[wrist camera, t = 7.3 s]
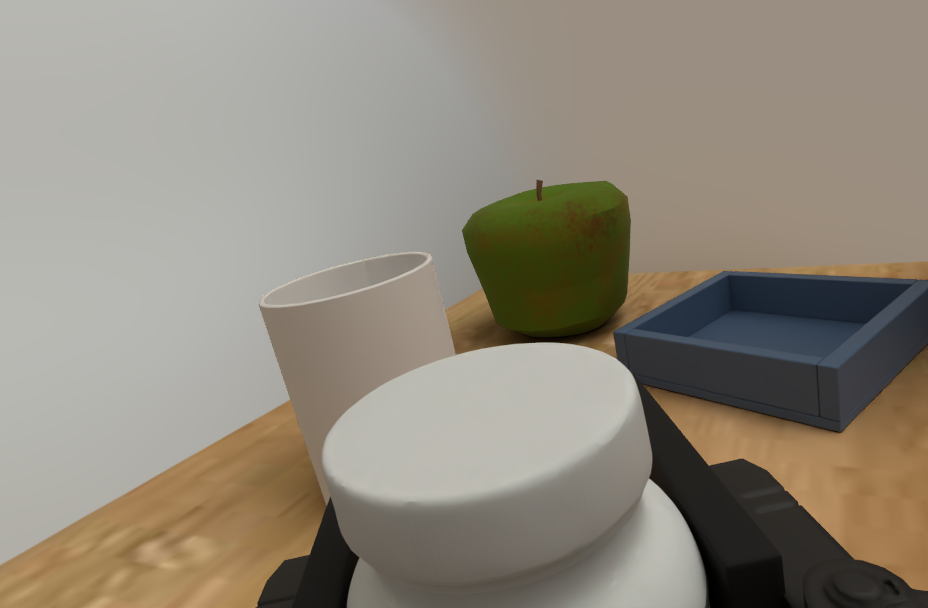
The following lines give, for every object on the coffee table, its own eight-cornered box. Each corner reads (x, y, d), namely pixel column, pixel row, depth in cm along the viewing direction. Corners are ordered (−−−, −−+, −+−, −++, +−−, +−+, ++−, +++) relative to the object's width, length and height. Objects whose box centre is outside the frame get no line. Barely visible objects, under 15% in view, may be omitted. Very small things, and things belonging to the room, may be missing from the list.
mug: (481, 514, 24) (422, 278, 21) (305, 544, 25) (226, 320, 22) (483, 392, 36) (445, 229, 33) (363, 415, 37) (316, 258, 34)
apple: (481, 318, 51) (453, 193, 48) (615, 287, 51) (595, 159, 48) (495, 370, 39) (457, 207, 36) (671, 330, 39) (648, 162, 36)
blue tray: (937, 334, 30) (937, 280, 29) (840, 432, 24) (837, 368, 23) (727, 311, 39) (723, 270, 39) (620, 378, 33) (612, 331, 33)
